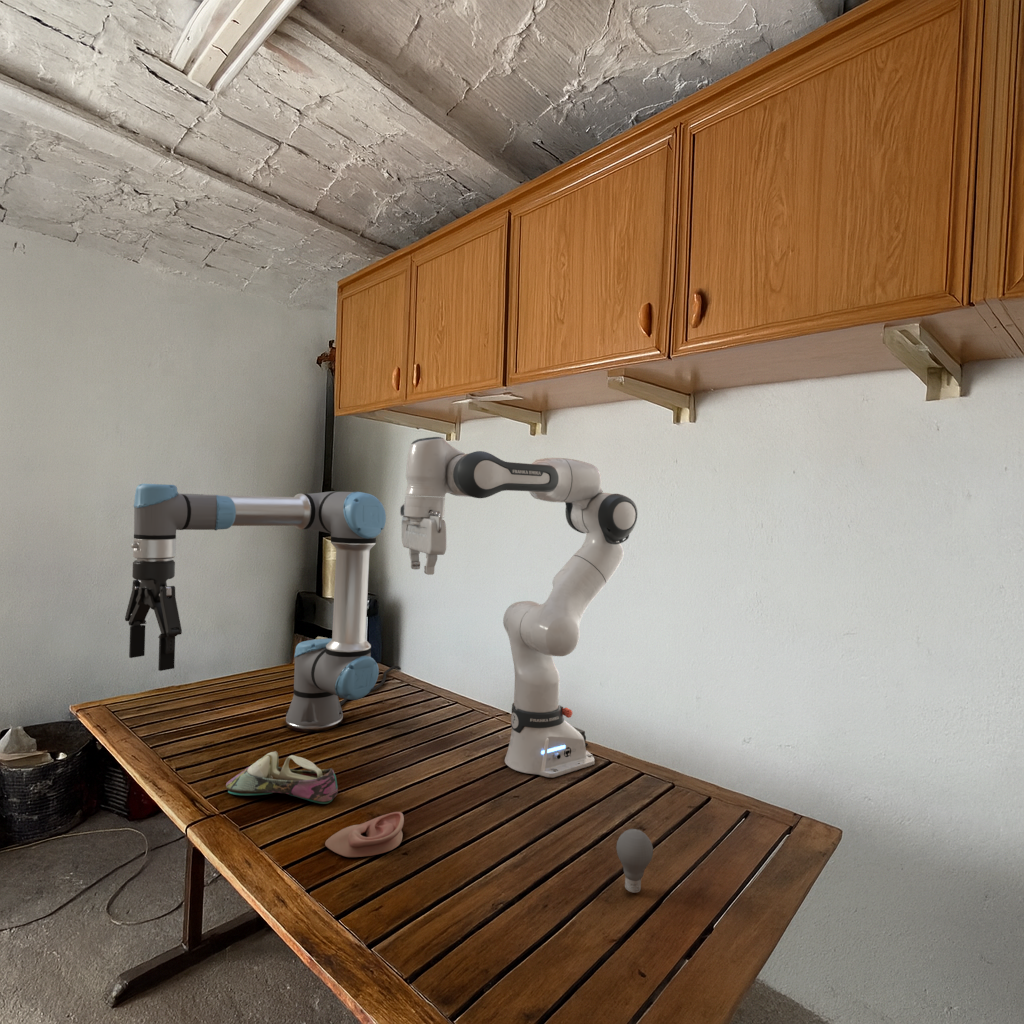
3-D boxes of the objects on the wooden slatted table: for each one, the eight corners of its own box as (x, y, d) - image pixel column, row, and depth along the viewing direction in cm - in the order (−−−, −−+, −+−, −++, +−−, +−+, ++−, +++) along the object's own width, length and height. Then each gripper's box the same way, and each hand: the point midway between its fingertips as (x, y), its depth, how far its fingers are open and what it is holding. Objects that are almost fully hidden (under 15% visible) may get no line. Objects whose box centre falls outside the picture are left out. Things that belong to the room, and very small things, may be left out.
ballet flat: (241, 780, 140) (242, 741, 140) (345, 792, 136) (346, 752, 136) (218, 797, 131) (219, 756, 131) (328, 811, 128) (329, 769, 128)
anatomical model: (317, 830, 113) (346, 800, 124) (316, 852, 113) (345, 821, 124) (387, 841, 110) (410, 810, 121) (386, 864, 110) (410, 831, 121)
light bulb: (610, 879, 108) (613, 822, 108) (644, 879, 109) (647, 822, 109) (619, 902, 102) (622, 840, 102) (655, 901, 103) (658, 840, 103)
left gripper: (109, 554, 134) (106, 654, 134) (162, 566, 119) (159, 679, 119) (147, 553, 140) (144, 648, 140) (202, 564, 125) (199, 671, 125)
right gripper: (455, 511, 133) (452, 577, 133) (423, 508, 151) (420, 566, 151) (426, 510, 130) (423, 577, 130) (397, 507, 148) (395, 566, 149)
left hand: (151, 662), depth 130 cm, fingers open, 13 cm apart
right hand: (422, 571), depth 141 cm, fingers open, 8 cm apart
